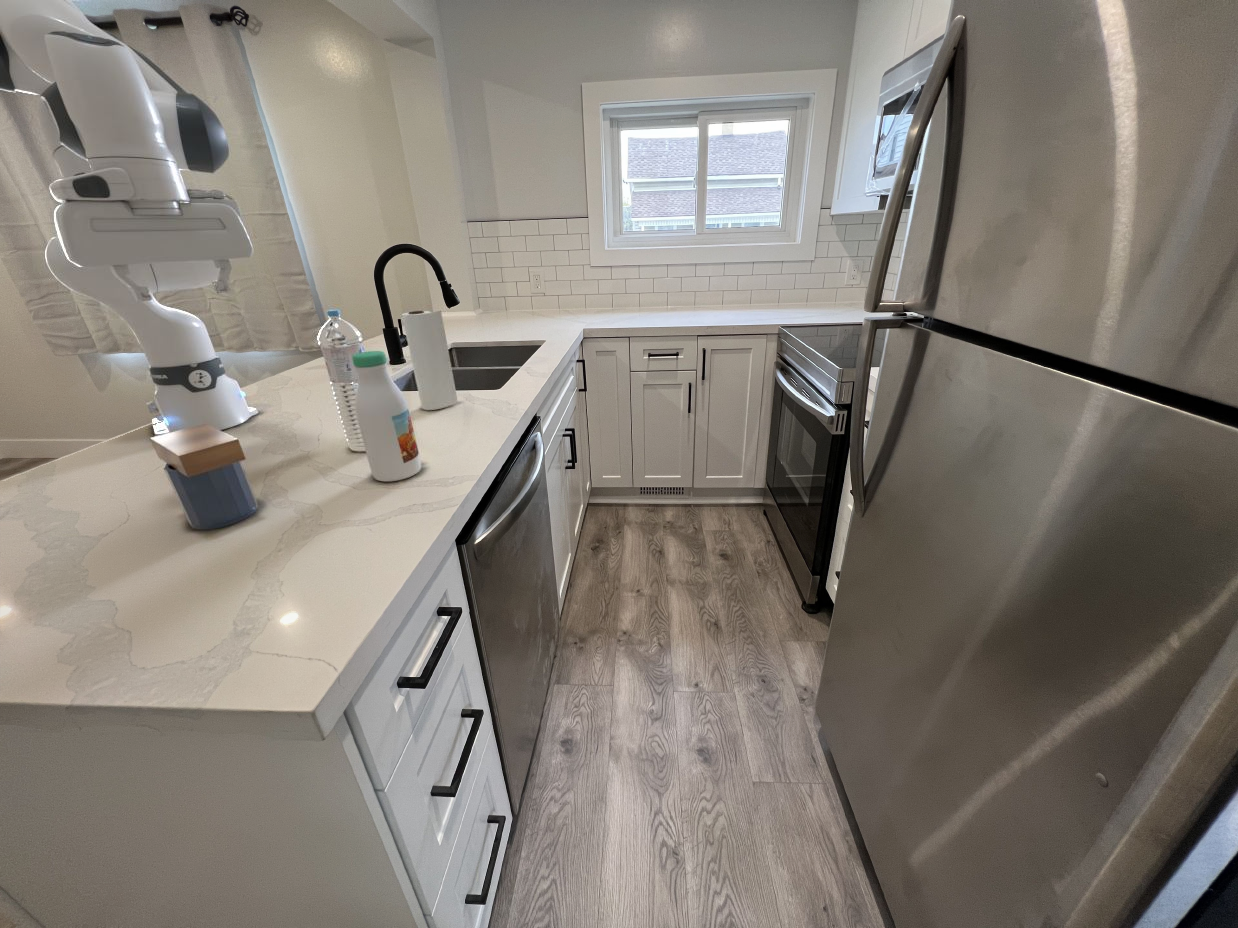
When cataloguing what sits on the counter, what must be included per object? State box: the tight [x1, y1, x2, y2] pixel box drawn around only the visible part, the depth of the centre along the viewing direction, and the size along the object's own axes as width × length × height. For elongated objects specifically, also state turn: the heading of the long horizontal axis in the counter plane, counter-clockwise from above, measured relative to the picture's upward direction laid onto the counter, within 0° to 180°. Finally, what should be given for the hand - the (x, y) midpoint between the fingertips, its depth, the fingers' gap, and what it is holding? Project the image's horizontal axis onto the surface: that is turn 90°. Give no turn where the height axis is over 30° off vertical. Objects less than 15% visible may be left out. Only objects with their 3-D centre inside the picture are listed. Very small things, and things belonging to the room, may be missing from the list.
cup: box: [163, 461, 259, 531], centre depth 70 cm, size 8×8×9 cm
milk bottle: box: [352, 350, 422, 482], centre depth 79 cm, size 8×8×20 cm
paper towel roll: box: [401, 310, 459, 411], centre depth 111 cm, size 7×6×21 cm
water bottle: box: [317, 309, 366, 453], centre depth 90 cm, size 7×7×25 cm
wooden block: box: [149, 424, 247, 477], centre depth 68 cm, size 12×6×3 cm, turn 54°
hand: (185, 297), depth 72 cm, fingers open, 8 cm apart
